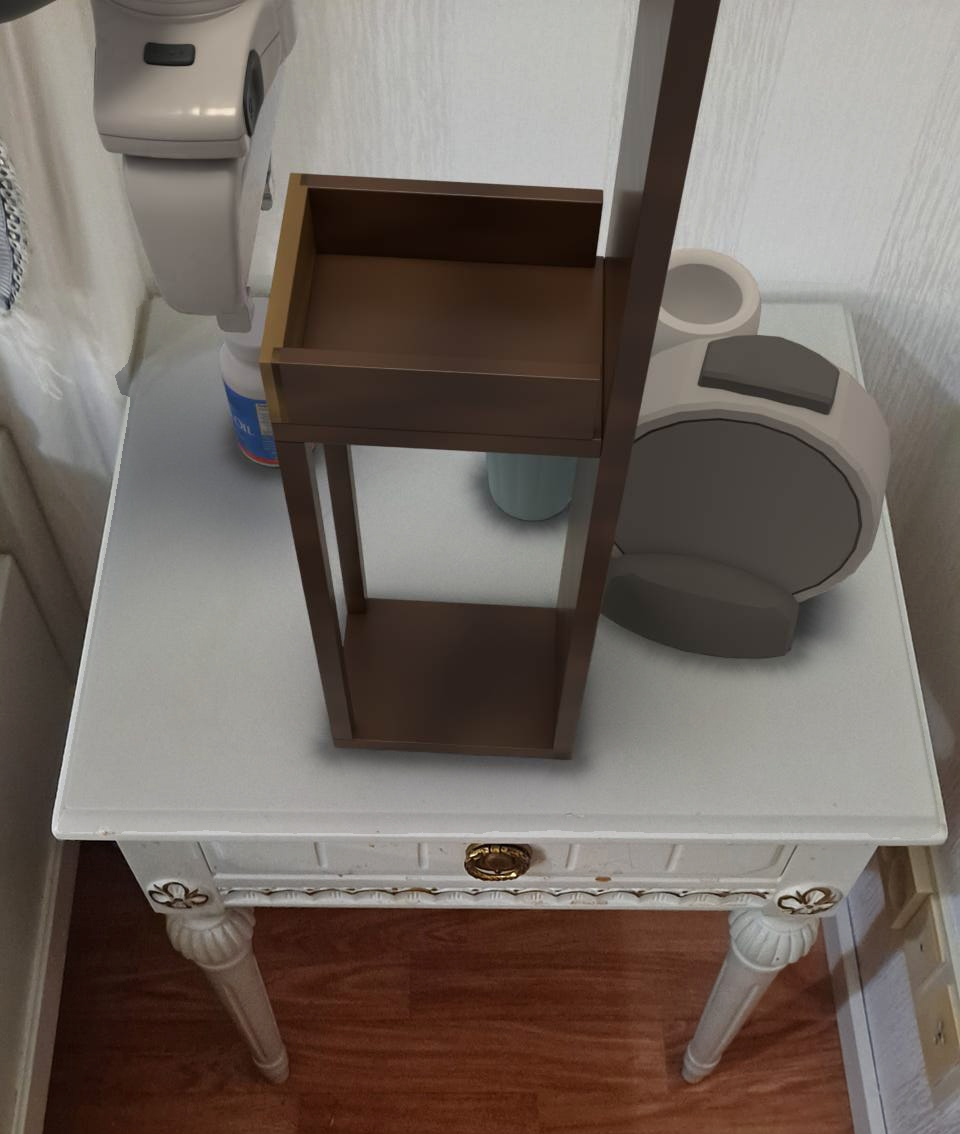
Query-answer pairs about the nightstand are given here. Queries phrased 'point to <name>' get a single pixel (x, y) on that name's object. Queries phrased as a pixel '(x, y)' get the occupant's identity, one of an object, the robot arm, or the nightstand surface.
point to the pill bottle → (249, 389)
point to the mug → (706, 299)
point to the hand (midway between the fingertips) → (249, 260)
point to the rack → (476, 399)
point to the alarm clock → (744, 494)
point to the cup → (530, 483)
